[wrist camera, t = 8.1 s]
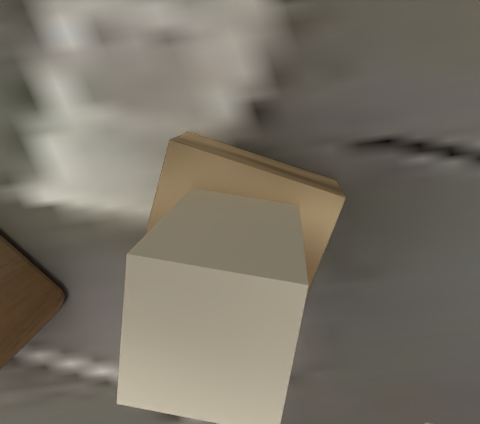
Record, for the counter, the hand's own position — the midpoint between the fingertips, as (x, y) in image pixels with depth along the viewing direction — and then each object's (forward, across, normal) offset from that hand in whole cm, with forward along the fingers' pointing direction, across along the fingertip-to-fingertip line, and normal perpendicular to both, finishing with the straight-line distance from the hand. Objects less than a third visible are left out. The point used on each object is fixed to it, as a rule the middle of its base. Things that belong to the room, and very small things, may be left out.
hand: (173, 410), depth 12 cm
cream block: (+13, 0, 0) cm, 13 cm away
